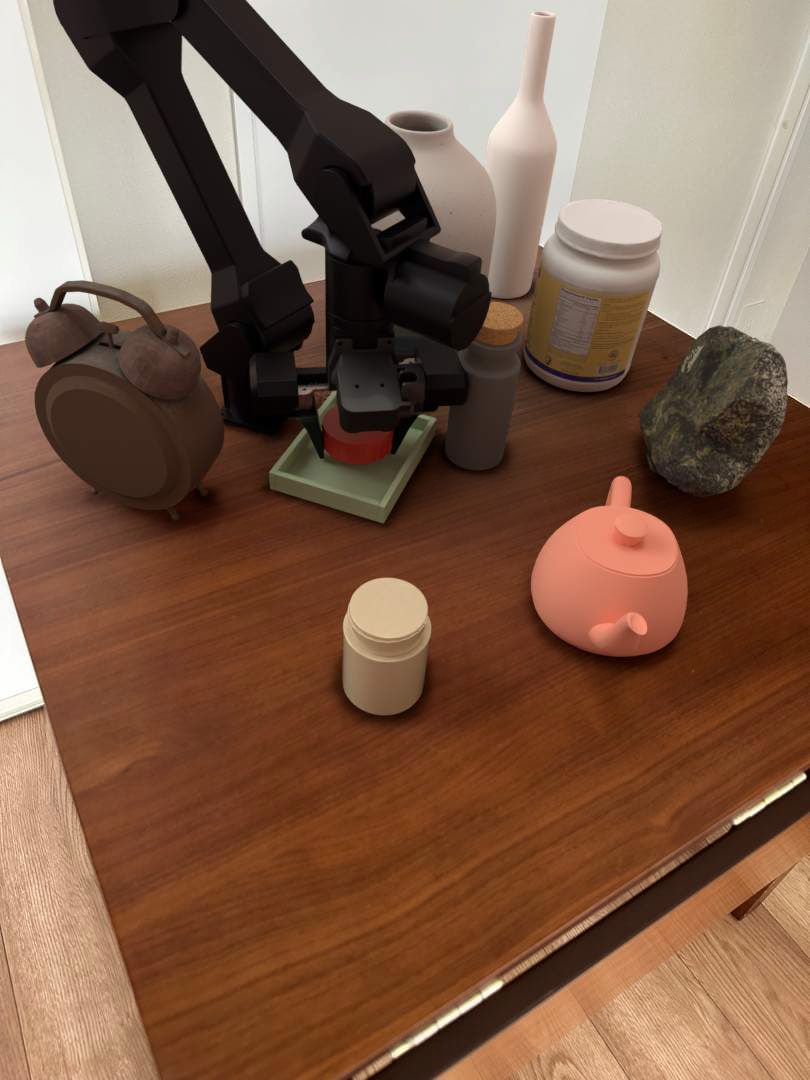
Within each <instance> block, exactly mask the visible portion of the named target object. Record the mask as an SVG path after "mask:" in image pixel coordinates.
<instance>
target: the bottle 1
mask: <svg viewBox="0 0 810 1080" xmlns="http://www.w3.org/2000/svg"><path fill="white" fill-rule="evenodd" d="M523 323H524V314H523V313H522V311H520V310H519V309H518V308H516V307H515V306H513V305H510V304H509V303H506V302H500V301H492V300H491V302H490V306H489V310H488V313H487V316H486V319H485V321H484V324H483V326H482V328H481V330H480V332H479V334H478V335H477V337H476V338H475V339H474V341H473V342H472V343H471V344H470V345H469V346H468V347H467V348H466V349H464V350H461V351H459V352H458V357H459V360H460V362H461V364H462V366H463V368H464V370H465V371H466V373H467V374H468V378H469V390H468V397H467V402H465V403H464V404H463V405H458V406H449V409H448V417H447V424H446V432H445V441H444V453H445V455H446V457H447V459H448V460H449V461H450V462H451V463H453V464H454V465H455V466H457V467H459V468H462V469H465V470H470V471H486V470H490V469H492V468H494V467H496V466H498V465H499V464H500V463H501V461H502V459H503V458H504V457H503V456H504V453H505V449H506V443H507V439H508V434H509V429H510V426H511V425H510V424H511V419H512V414H513V409H514V403H515V399H516V395H517V394H516V393H517V388H518V383H519V378H520V372H521V366H522V365H521V359H520V357H519V356H518V352H519V351H520V349H521V346H522V342H523V341H522V340H523V335H522V333H521V331H520V330H521V328H522V326H523Z"/></svg>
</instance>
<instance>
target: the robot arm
mask: <svg viewBox="0 0 810 1080" xmlns="http://www.w3.org/2000/svg"><path fill="white" fill-rule="evenodd" d="M52 4H53V8H54V13H55V15H56V17H57V20H58V22H59V24H60V26H61V27H62V28H63V30H64V32H65V34H66V36H67V37H68V38H69V40H70V42H71V43H72V45H73V47H74V48H75V50H76V52H77V53H78V55H79V57H80V58H81V59H82V61H83V63H84V64H85V66H86V67H87V69H88V70H89V71H90V72H92V73H93V74H94V75H95V76H96V77H98V78H99V79H100V80H101V81H102V82H103V83H105V84H106V85H107V86H108V87H109V88H111V89H112V90H113V91H115V93H117V94H118V95H119V96H121V97H122V98H123V99H124V101H125V102H126V103H127V104H126V105H128V107H129V110H130V112H131V114H132V115H133V117H134V119H135V122H136V123H137V125H138V127H139V129H140V132H141V134H142V136H143V138H144V140H145V141H146V144H147V146H148V148H149V150H150V152H151V153H152V156H153V158H154V160H155V162H156V164H157V166H158V168H159V170H160V172H161V174H162V176H163V178H164V180H165V181H166V184H167V186H168V189H169V190H170V193H171V194H172V196H173V198H174V200H175V202H176V204H177V206H178V208H179V210H180V212H181V214H182V216H183V218H184V220H185V222H186V224H187V226H188V228H189V231H190V232H191V234H192V236H193V238H194V240H195V242H196V244H197V246H198V248H199V250H200V252H201V254H202V257H203V258H204V260H205V263H206V264H207V266H208V268H209V271H210V275H211V276H210V311H211V312H210V313H211V314H212V318H213V319H214V322H215V325H216V327H217V330H218V331H217V332H216V333H215V334H214V335H212V336H211V337H210V338H209V339H208V340H207V341H205V342H204V343H203V344H202V345H200V346H199V353H200V355H201V357H202V360H203V362H204V364H205V367H206V369H208V370H209V371H211V372H213V373H215V374H217V375H220V383H221V390H222V397H223V398H222V399H223V406H222V407H221V408H220V411H221V414H222V417H223V422H224V423H226V424H231V425H233V426H237V427H241V428H243V429H247V430H250V431H254V432H257V433H261V434H263V435H264V434H265V435H267V436H273V435H276V434H277V433H278V431H279V430H280V429H281V428H282V426H284V424H285V423H286V422H287V421H288V420H296V421H299V422H300V424H301V425H302V426H303V429H304V428H305V429H306V431H307V432H308V434H309V436H310V439H311V441H312V443H313V445H314V447H315V449H316V452H317V454H318V456H319V458H320V459H324V445H323V439H322V433H321V426H320V421H319V415H318V406H317V399H316V393H323V392H333V391H336V395H337V403H338V412H339V422H340V426H341V428H342V429H343V430H344V431H345V432H347V433H359V432H367V431H382V432H389V431H392V430H394V437H393V441H392V449H391V450H390V453H391V455H395V454H396V452H397V450H398V448H399V447H400V445H401V443H402V441H403V439H404V438H405V436H406V434H407V432H408V430H409V429H410V427H411V425H412V424H413V423H414V421H415V420H416V419H417V417H418V416H419V415H421V414H423V415H425V414H427V413H434V412H436V411H437V410H438V409H439V407H450V406H458V405H463V404H464V403H465V402H467V397H468V390H469V378H468V374H467V373H466V371H465V370H464V368H463V366H462V364H461V362H460V360H459V357H458V351H461V350H464V349H466V348H467V347H468V346H469V345H470V344H471V343H472V342H473V341H474V339H475V338H476V337H477V335H478V334H479V332H480V330H481V328H482V326H483V324H484V321H485V319H486V316H487V313H488V310H489V306H490V302H491V301H492V297H491V295H492V292H490V291H489V282H488V278H487V277H486V276H485V275H484V274H481V267H482V259H481V257H479V256H476V255H473V254H470V253H467V252H458V251H454V250H451V249H449V248H446V247H443V246H440V245H438V244H435V243H432V242H430V239H431V238H432V237H434V236H436V235H437V234H439V233H440V232H441V227H440V225H439V222H438V220H437V218H436V216H435V213H434V211H433V209H432V206H431V204H430V202H429V200H428V197H427V195H426V193H425V191H424V188H423V186H422V184H421V182H420V179H419V177H418V175H417V173H416V170H415V166H414V165H415V163H416V160H415V157H414V155H413V152H412V150H411V149H410V147H409V146H408V144H407V143H406V141H405V140H404V139H403V138H402V137H401V136H399V135H398V134H397V133H396V132H394V131H393V130H392V129H391V128H389V127H388V126H387V125H386V124H385V122H383V121H382V120H381V119H380V118H378V117H377V115H375V114H374V113H372V112H371V111H369V110H367V109H364V108H362V107H360V106H357V105H355V104H353V103H350V102H348V101H346V100H343V99H341V98H340V97H338V96H337V95H335V94H334V93H333V92H332V91H331V90H329V89H328V88H327V87H326V86H325V85H324V83H322V82H321V81H320V80H319V78H318V77H317V76H316V75H315V74H314V73H313V72H312V71H311V69H310V68H309V67H308V66H307V65H306V64H305V63H304V62H303V61H302V60H301V59H300V58H299V57H298V56H297V54H296V53H295V52H294V51H293V50H292V49H291V48H290V47H289V46H288V44H286V42H285V41H284V40H283V38H281V37H280V36H279V34H277V33H276V32H275V30H274V29H273V28H272V27H271V26H270V25H269V24H268V22H267V21H266V20H265V19H264V18H263V17H262V16H261V15H260V14H259V13H258V11H257V10H255V8H254V7H253V6H252V5H251V4H250V3H249V2H248V1H247V0H52ZM183 38H184V39H185V40H186V41H187V42H188V44H189V45H190V46H191V47H192V48H193V49H194V50H195V51H196V52H197V53H198V54H199V56H200V57H201V58H202V59H203V60H204V61H205V62H206V63H207V64H208V65H209V66H210V68H211V69H212V70H213V71H214V72H215V73H216V74H217V75H218V76H219V77H220V78H221V80H223V81H224V83H225V84H226V85H227V86H228V87H229V88H230V89H231V91H232V92H233V93H234V94H235V95H236V96H237V97H238V98H239V99H240V100H241V101H242V103H243V104H245V106H246V107H247V108H248V109H249V110H250V111H251V112H252V113H253V115H255V117H256V118H257V119H258V120H259V121H260V122H261V123H262V124H263V126H265V128H266V129H267V130H268V131H269V132H270V133H271V134H272V135H273V136H274V137H275V139H277V141H278V142H279V144H280V145H281V147H282V148H283V149H284V151H285V153H286V154H287V157H288V162H289V166H290V171H291V174H292V178H293V181H294V183H295V185H296V186H297V188H298V189H299V191H300V192H301V193H302V195H303V196H304V197H305V199H306V200H307V202H308V203H309V205H310V207H312V209H313V210H314V211H315V213H316V214H317V217H316V218H315V219H314V221H312V222H311V223H310V224H309V225H307V227H305V228H303V229H301V232H300V235H301V238H302V239H304V240H306V241H308V242H310V243H314V244H315V245H318V246H320V247H323V248H324V285H325V286H324V291H325V293H324V294H325V295H324V297H325V300H324V301H325V302H324V303H325V304H324V305H325V312H324V313H325V366H309V367H297V366H296V358H295V352H298V351H299V350H300V349H302V347H303V344H304V341H306V340H307V339H308V338H309V337H310V336H311V334H312V331H313V326H314V325H315V322H316V319H315V313H314V310H313V307H312V305H311V304H313V303H315V301H314V300H315V299H314V298H313V297H312V296H311V294H310V293H309V292H308V290H307V288H306V286H305V283H304V282H303V279H302V276H301V273H300V271H299V267H298V266H297V264H295V262H294V261H293V260H292V259H288V260H287V261H284V262H283V263H281V262H280V261H279V260H278V259H277V258H275V257H274V256H273V255H271V254H270V253H268V252H267V251H266V250H265V249H264V248H263V246H262V244H261V242H260V240H259V238H258V236H257V234H256V232H255V229H254V227H253V225H252V223H251V221H250V218H249V216H248V214H247V212H246V210H245V208H244V206H243V204H242V201H241V198H240V197H239V195H238V192H237V190H236V188H235V186H234V183H233V182H232V180H231V177H230V175H229V173H228V171H227V169H226V167H225V165H224V162H223V160H222V158H221V155H220V154H219V151H218V150H217V147H216V145H215V143H214V140H213V138H212V136H211V134H210V132H209V130H208V128H207V126H206V123H205V121H204V119H203V117H202V115H201V113H200V110H199V108H198V106H197V104H196V101H195V99H194V97H193V96H192V92H191V91H190V89H189V86H188V84H187V82H186V80H185V77H184V75H183ZM398 210H399V211H400V213H401V214H402V215H403V216H404V218H405V219H403V220H401V221H399V222H398V223H396V224H394V225H392V226H390V227H389V228H387V229H385V230H383V231H382V230H380V229H377V228H374V227H372V226H371V225H372V224H374V223H376V222H378V221H380V220H382V219H383V218H385V217H387V216H389V215H391V214H393V213H395V212H397V211H398ZM395 325H397V326H399V327H401V328H404V329H406V330H409V331H411V332H414V333H416V334H418V335H421V336H423V337H426V338H428V339H430V340H433V341H435V342H438V343H440V344H443V345H445V346H435V347H416V349H415V350H414V358H407V359H405V360H404V361H403V362H402V363H399V362H398V358H397V355H396V352H395V349H394V346H395V341H394V335H395V332H394V326H395Z"/></svg>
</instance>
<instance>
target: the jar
mask: <svg viewBox="0 0 810 1080" xmlns="http://www.w3.org/2000/svg"><path fill="white" fill-rule="evenodd" d="M431 636H432V622H431V619H430V615H429V605H428V601H427V598H426V597H425V595H424V594H423V592H422V591H421V590H420V589H419V588H418V587H417V586H415V585H414V584H412V583H411V582H408V581H407V580H404V579H399V578H396V577H379V578H375V579H371V580H368V581H367V582H365V583H363V584H361V585H360V586H359V587H357V589H356V590H355V591H354V592H353V594H352V595H351V597H350V600H349V603H348V606H347V612H346V613H345V615H344V618H343V622H342V673H341V675H342V677H341V679H342V687H343V690H344V693H345V695H346V697H347V699H348V700H349V701H350V702H351V703H352V705H354V706H355V707H357V709H360V710H361V711H363V712H366V713H368V714H371V715H375V716H393V715H397V714H400V713H403V712H405V711H407V710H408V709H410V708H411V707H412V706H414V705H415V704H416V703H417V702H418V700H419V699H420V697H421V695H422V693H423V690H424V686H425V679H426V673H427V666H428V658H429V652H430V643H431Z"/></svg>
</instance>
